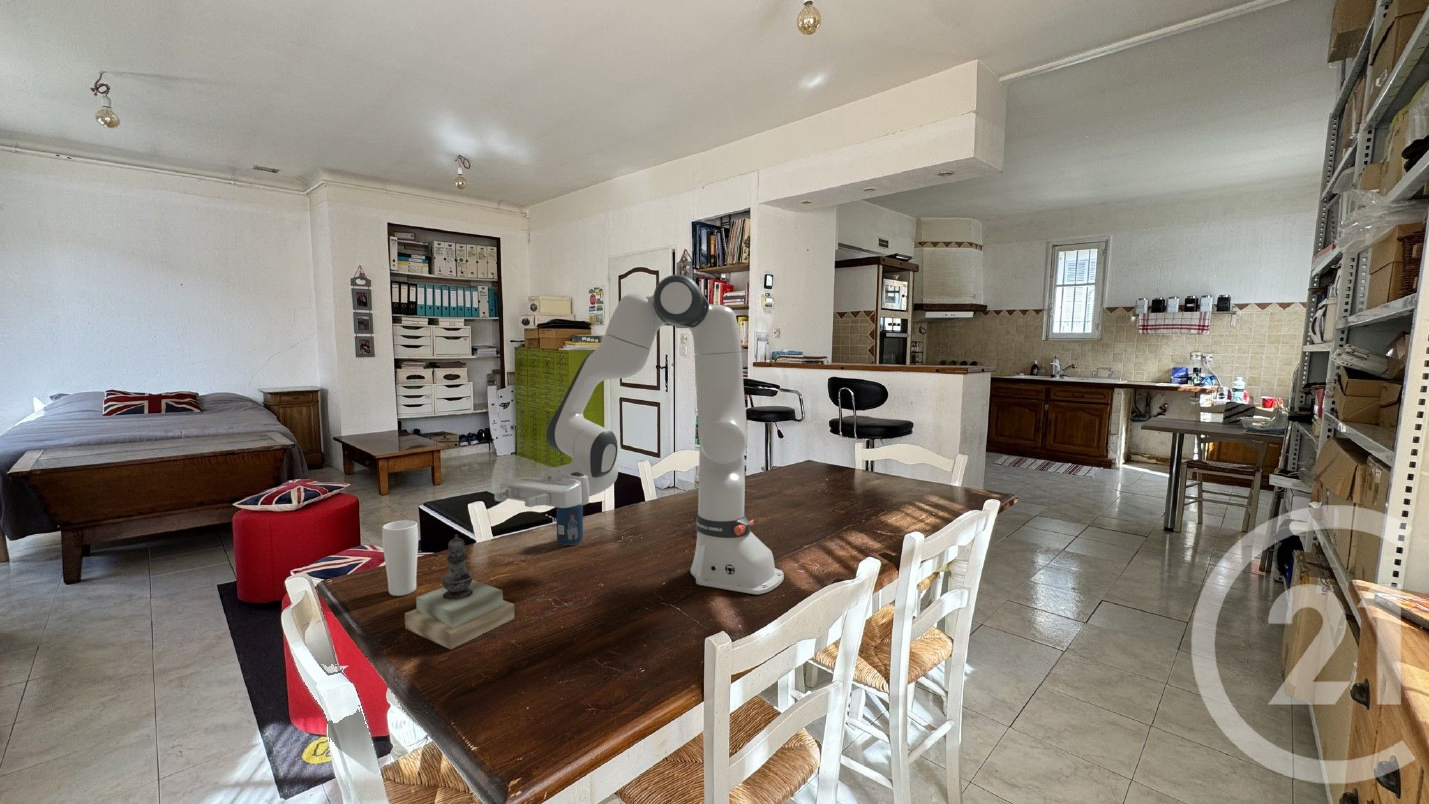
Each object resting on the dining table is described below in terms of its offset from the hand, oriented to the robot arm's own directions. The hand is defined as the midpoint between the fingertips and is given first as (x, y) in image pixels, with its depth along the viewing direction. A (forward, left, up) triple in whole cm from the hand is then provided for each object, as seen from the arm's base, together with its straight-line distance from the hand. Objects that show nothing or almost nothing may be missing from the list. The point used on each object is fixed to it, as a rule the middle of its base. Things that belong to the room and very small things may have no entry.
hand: (511, 500), depth 122 cm
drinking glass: (+23, +10, -22) cm, 34 cm away
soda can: (+16, -33, -22) cm, 43 cm away
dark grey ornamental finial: (0, +13, -16) cm, 20 cm away
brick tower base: (0, +12, -22) cm, 25 cm away
